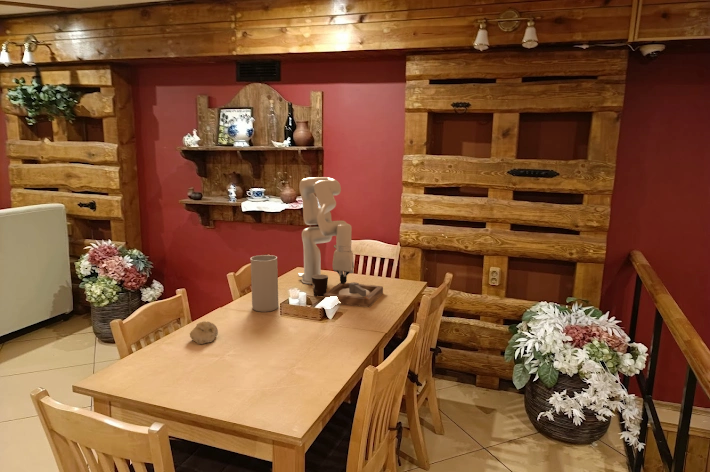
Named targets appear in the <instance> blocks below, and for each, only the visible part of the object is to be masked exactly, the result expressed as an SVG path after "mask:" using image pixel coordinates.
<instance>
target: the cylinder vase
mask: <svg viewBox="0 0 710 472" xmlns="http://www.w3.org/2000/svg"><path fill="white" fill-rule="evenodd" d="M278 271H279V270H278V256H276V255H273V254H272V255H270V254H261V255H254V256H251V257H250V277H251V278H250V280H251V282H250V283H251V303H252V304H251V305H252V307H251V308H252V309H253V310H254V311H255V312H260V313H268V312H272V311H276V310H277V309H278V308H279V282H278V281H279V277H278V276H279V274H278Z"/></svg>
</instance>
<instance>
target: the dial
mask: <svg viewBox="0 0 710 472" xmlns="http://www.w3.org/2000/svg"><path fill="white" fill-rule="evenodd" d="M348 283H349V288H346V289H342V290H340V291H339V295H348V296H357V297H367V296H368V295H369V294H370V292H369V291H368V290H366V289H363V288H362V287H360V286H359V284H360V283H359V282H348Z"/></svg>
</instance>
